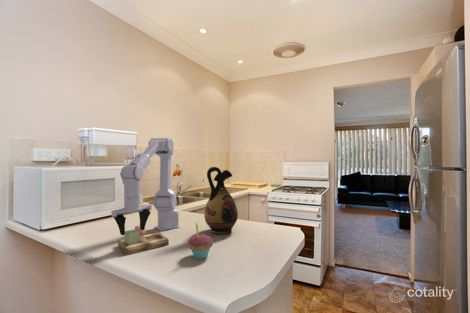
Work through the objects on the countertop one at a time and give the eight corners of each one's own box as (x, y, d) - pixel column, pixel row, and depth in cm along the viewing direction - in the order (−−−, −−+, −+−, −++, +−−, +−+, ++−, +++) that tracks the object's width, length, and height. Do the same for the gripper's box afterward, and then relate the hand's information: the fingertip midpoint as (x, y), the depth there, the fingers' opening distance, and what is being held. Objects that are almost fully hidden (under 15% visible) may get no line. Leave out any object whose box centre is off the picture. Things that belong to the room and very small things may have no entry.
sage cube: (134, 241, 91) (134, 228, 91) (139, 244, 88) (139, 230, 88) (124, 244, 88) (124, 231, 88) (129, 247, 85) (129, 233, 85)
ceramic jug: (229, 224, 118) (229, 165, 118) (243, 233, 104) (242, 166, 104) (197, 229, 110) (196, 166, 111) (207, 239, 96) (206, 167, 97)
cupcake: (201, 263, 74) (201, 226, 74) (182, 257, 78) (182, 222, 78) (217, 254, 81) (217, 219, 81) (199, 249, 86) (199, 216, 86)
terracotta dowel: (143, 236, 101) (143, 224, 101) (146, 238, 98) (146, 226, 98) (133, 238, 99) (133, 226, 99) (136, 240, 95) (136, 228, 96)
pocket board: (159, 237, 99) (159, 232, 99) (168, 244, 90) (168, 239, 90) (118, 245, 90) (118, 240, 90) (124, 255, 81) (124, 248, 81)
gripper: (145, 193, 96) (145, 225, 96) (107, 197, 85) (108, 234, 85) (154, 194, 91) (154, 228, 91) (115, 199, 80) (116, 238, 80)
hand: (132, 232), depth 88 cm, fingers open, 7 cm apart
